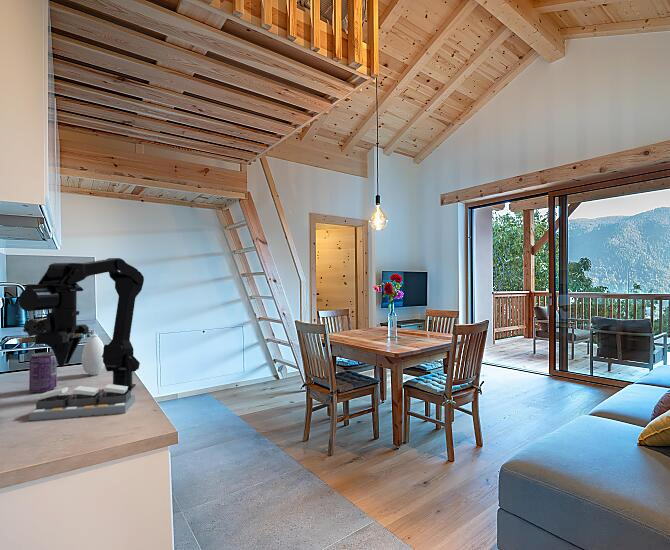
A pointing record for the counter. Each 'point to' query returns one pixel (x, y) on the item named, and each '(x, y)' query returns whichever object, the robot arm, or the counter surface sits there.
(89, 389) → the middle rocker
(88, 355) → the sauce bottle
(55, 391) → the left rocker
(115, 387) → the right rocker
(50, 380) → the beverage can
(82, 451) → the counter surface
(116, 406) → the switch panel
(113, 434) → the counter surface
